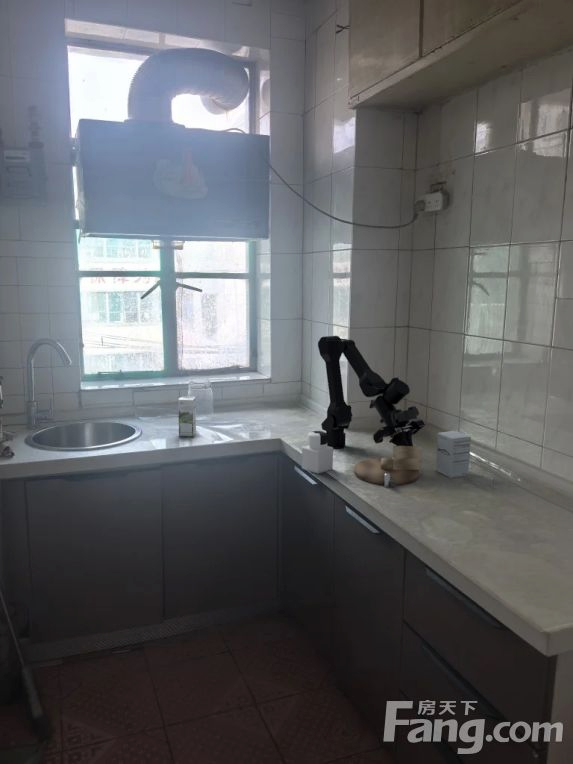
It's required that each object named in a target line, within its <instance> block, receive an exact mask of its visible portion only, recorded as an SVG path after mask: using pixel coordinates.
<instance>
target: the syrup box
mask: <svg viewBox="0 0 573 764" xmlns="http://www.w3.org/2000/svg"><path fill="white" fill-rule="evenodd" d="M196 403H197V401H196V396H180V397H179V398H177V405H178V406H177V407H178V409H177V410H178V413H177V414H178V416H177V417H178V436H179V437H182V438H183V437H184V438H185V437H186V438H192V437H195V435H196V434H197V423H196V422H197V420H196V419H197V418H196V417H197V416H196V415H197V414H196V412H197V411H196V410H197V409H196V407H197V406H196Z"/></svg>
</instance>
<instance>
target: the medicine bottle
mask: <svg viewBox="0 0 573 764" xmlns="http://www.w3.org/2000/svg"><path fill="white" fill-rule="evenodd" d="M307 436H308V438H307V440H308V441H307V443H308V444H307V445H306V446H302V448H301V469H303V470H305V471H308V472H311V473H315V474H318V475H319V474H322V473H325V472H328V471H329V470H333V466H334V448H332V447H329V446H327V433H326V432H324V431H321V430H314V431H310V432H308V435H307Z"/></svg>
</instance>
